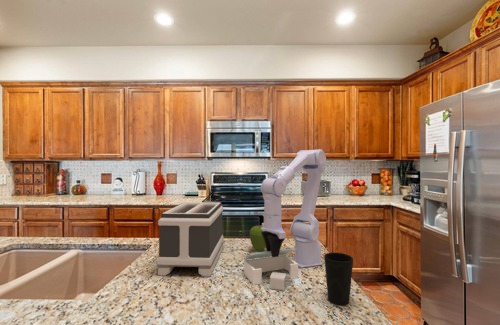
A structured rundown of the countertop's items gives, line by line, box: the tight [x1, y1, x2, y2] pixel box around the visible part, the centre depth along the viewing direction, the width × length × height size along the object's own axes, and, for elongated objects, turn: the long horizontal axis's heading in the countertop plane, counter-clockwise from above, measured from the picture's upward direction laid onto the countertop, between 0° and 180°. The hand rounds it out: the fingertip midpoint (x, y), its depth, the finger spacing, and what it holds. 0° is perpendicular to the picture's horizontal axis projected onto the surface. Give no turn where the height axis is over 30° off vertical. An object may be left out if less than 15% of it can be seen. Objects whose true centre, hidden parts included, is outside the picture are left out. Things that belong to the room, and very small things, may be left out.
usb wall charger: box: [269, 271, 295, 292], centre depth 79 cm, size 4×7×4 cm, turn 72°
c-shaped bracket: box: [243, 254, 299, 286], centre depth 88 cm, size 16×9×5 cm, turn 110°
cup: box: [323, 252, 354, 307], centre depth 72 cm, size 8×8×12 cm
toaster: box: [156, 201, 224, 278], centre depth 104 cm, size 18×34×21 cm, turn 178°
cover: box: [243, 247, 295, 260], centre depth 90 cm, size 16×8×1 cm, turn 110°
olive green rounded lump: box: [249, 224, 266, 252], centre depth 114 cm, size 9×8×12 cm
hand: (272, 254), depth 87 cm, fingers open, 3 cm apart
